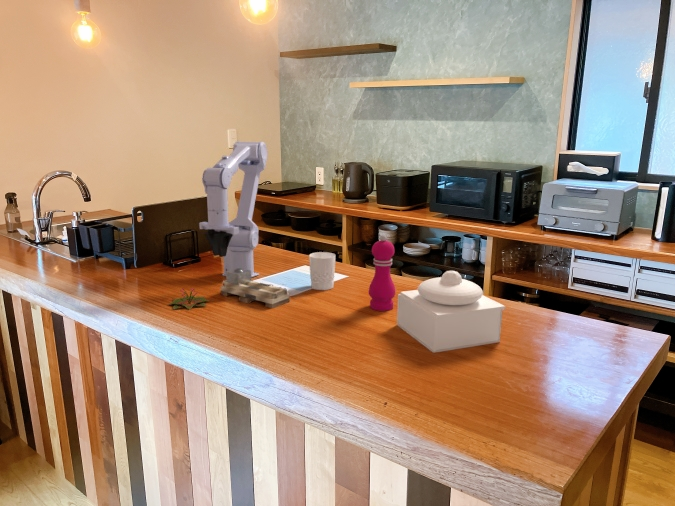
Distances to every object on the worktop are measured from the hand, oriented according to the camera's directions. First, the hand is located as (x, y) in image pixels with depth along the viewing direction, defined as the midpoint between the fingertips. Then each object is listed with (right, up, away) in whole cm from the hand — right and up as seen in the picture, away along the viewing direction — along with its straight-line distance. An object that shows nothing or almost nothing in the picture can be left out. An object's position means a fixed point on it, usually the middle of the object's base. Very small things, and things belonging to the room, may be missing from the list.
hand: (219, 255), depth 157 cm
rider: (+6, -9, -2) cm, 11 cm away
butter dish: (+61, -19, -29) cm, 70 cm away
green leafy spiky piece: (-6, -14, -10) cm, 18 cm away
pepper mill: (+47, -14, -12) cm, 50 cm away
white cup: (+30, -10, +6) cm, 32 cm away
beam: (+11, -12, -5) cm, 17 cm away
